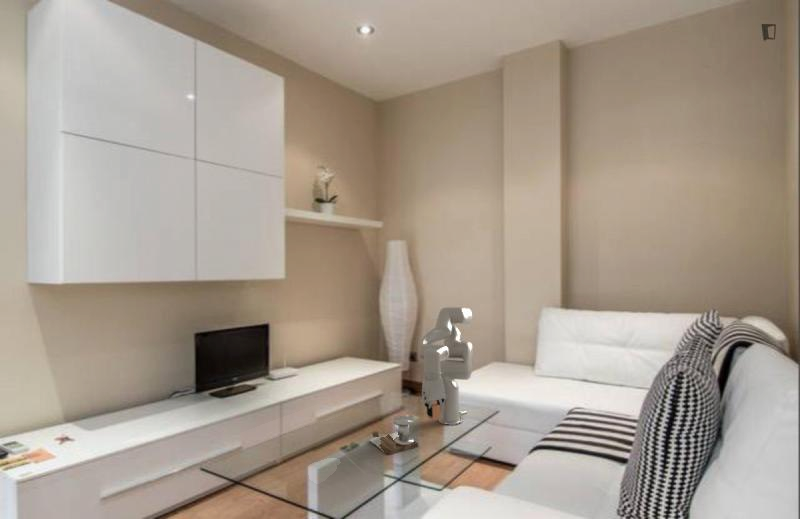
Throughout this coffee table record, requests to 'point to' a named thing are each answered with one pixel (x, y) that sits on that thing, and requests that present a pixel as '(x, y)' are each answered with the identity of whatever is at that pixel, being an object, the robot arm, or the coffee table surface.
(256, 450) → the coffee table surface
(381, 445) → the winding board
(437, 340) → the robot arm
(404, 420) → the bobbin
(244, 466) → the coffee table surface
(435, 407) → the orange brown block
